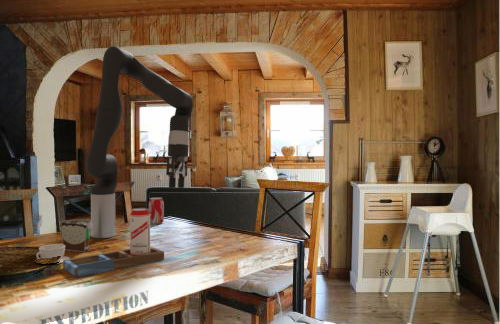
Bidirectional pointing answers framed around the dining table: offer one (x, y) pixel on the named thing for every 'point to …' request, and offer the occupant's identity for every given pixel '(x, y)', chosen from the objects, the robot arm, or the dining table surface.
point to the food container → (76, 234)
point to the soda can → (156, 210)
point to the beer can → (139, 231)
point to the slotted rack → (108, 261)
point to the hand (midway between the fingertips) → (176, 187)
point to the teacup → (52, 251)
